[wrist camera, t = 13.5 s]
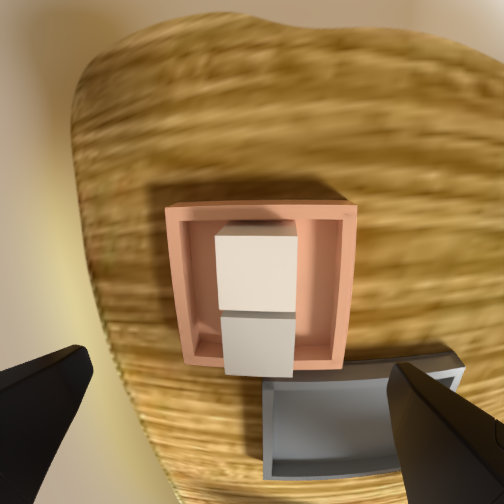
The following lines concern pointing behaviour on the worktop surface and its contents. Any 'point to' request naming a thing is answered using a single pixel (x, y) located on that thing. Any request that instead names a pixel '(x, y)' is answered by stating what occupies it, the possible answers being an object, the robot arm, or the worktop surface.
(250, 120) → the worktop surface
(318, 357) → the dish
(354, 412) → the bin
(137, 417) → the worktop surface
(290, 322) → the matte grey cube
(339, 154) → the worktop surface
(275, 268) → the beige cube
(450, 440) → the robot arm
